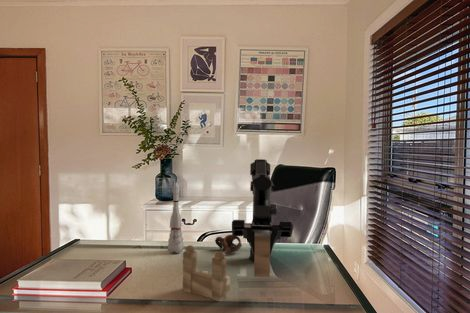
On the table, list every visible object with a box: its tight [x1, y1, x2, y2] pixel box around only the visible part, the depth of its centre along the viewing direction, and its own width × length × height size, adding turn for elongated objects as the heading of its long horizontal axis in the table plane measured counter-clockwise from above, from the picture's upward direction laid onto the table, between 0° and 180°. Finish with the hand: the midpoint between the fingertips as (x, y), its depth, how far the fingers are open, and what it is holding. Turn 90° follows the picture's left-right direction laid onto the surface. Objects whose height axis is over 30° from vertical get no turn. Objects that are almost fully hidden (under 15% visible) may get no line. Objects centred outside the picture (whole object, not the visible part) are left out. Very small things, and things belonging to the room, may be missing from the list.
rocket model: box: [167, 181, 185, 254], centre depth 139 cm, size 7×7×30 cm
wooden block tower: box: [182, 245, 231, 302], centre depth 101 cm, size 8×14×14 cm, turn 59°
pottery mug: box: [214, 234, 243, 256], centre depth 140 cm, size 12×10×8 cm
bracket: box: [253, 230, 271, 278], centre depth 97 cm, size 5×5×13 cm
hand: (262, 253), depth 96 cm, fingers closed on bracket, 4 cm apart
